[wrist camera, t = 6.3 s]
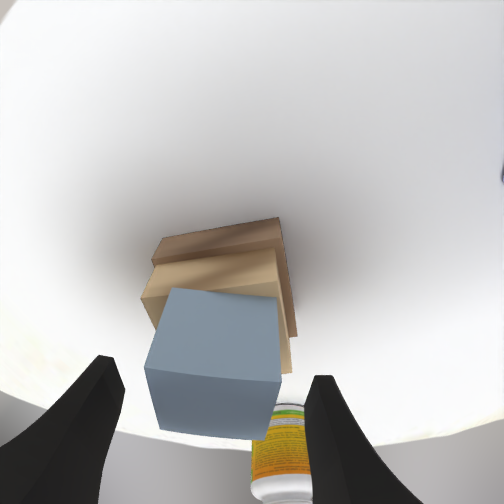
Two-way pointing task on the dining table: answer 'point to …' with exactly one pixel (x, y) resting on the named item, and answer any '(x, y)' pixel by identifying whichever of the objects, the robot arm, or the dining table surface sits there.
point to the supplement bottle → (282, 460)
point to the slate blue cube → (215, 364)
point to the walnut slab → (232, 251)
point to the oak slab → (222, 285)
